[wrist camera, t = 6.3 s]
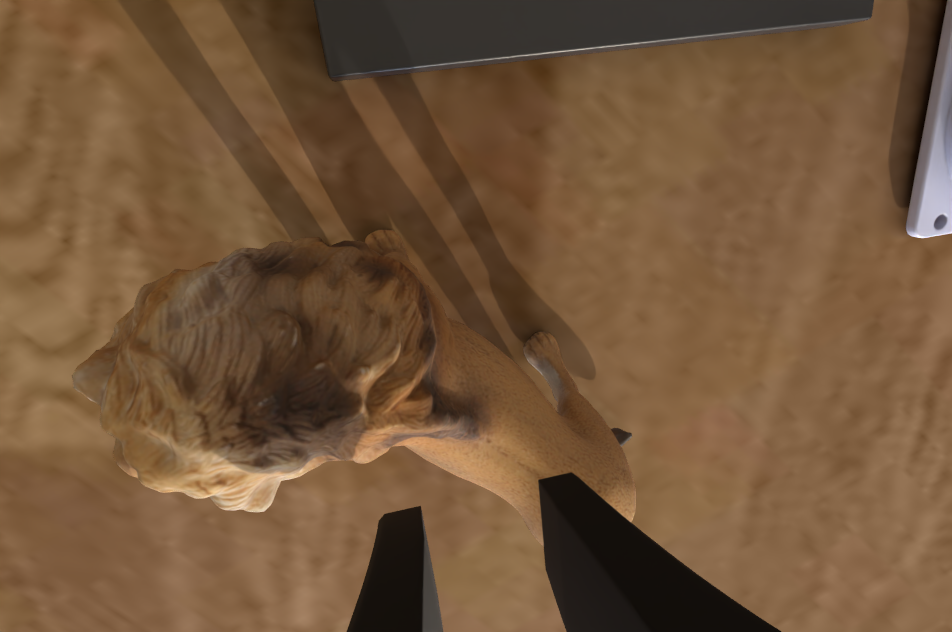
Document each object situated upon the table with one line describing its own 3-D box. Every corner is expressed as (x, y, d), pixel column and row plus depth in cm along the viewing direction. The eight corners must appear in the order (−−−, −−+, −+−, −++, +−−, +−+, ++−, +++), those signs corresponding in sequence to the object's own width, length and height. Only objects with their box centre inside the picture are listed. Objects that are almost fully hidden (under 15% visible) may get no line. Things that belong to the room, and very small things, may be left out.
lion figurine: (185, 321, 15) (-42, 562, 7) (260, 152, 14) (100, 192, 6) (585, 481, 20) (741, 738, 12) (665, 365, 19) (901, 556, 10)
